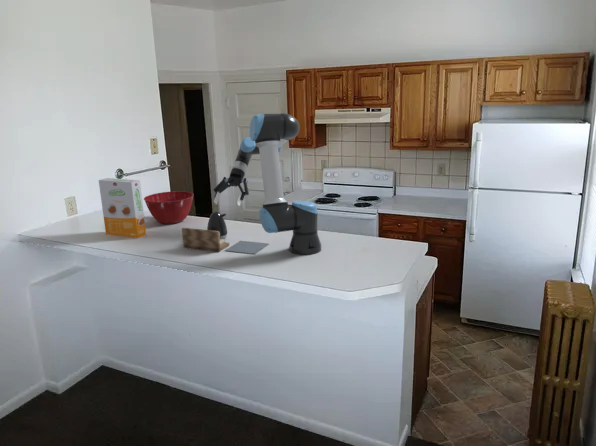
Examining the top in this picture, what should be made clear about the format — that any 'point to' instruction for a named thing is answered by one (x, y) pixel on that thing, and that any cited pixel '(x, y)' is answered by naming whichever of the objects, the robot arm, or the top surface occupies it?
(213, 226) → the black and white ovoid
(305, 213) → the robot arm
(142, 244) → the top surface
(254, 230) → the top surface
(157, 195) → the mixing bowl
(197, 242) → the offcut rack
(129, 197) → the cereal box
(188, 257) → the top surface
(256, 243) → the slate mat
